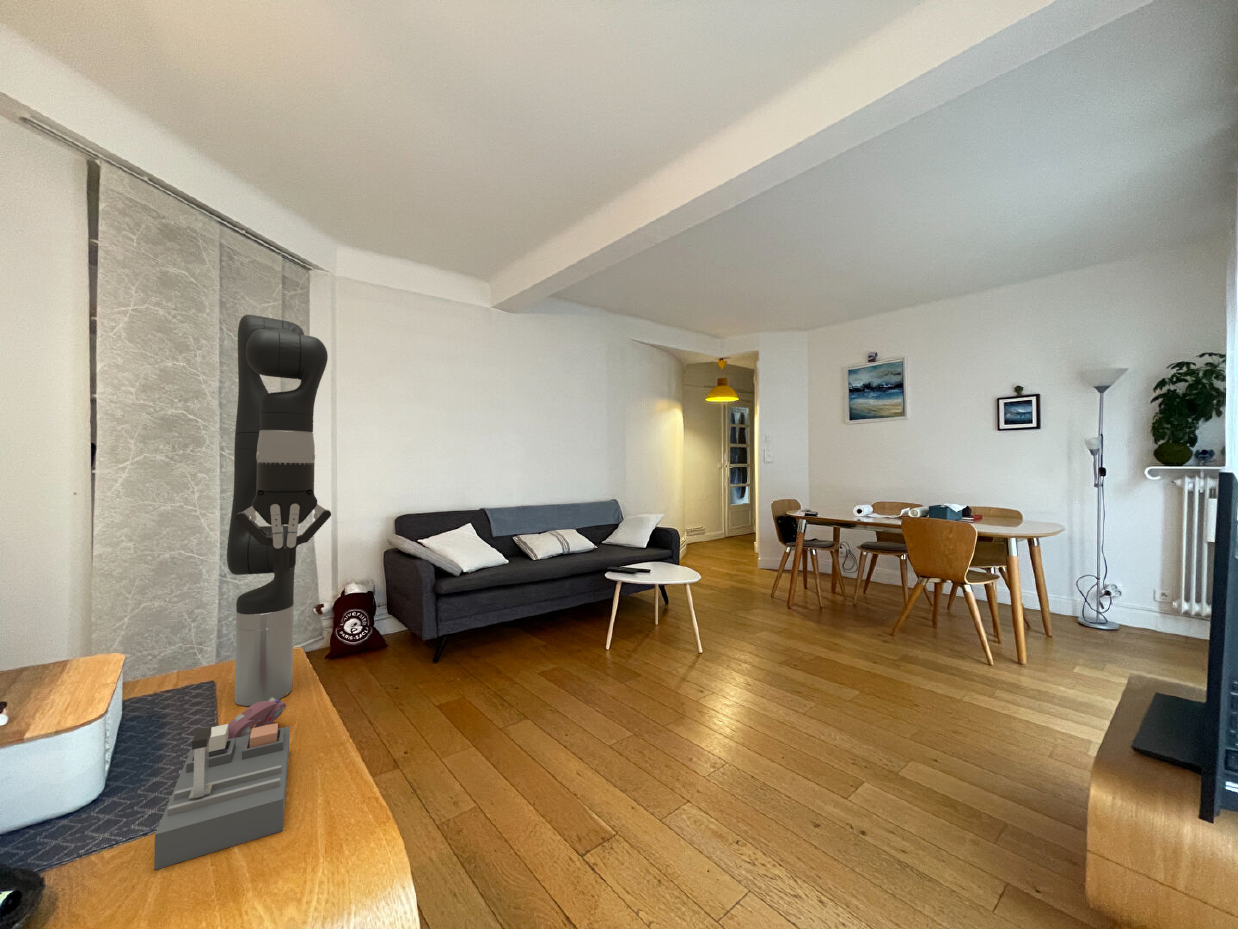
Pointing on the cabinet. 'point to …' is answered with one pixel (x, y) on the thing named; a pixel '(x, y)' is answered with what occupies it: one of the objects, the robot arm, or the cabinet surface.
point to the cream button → (218, 737)
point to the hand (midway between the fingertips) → (284, 571)
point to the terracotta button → (264, 735)
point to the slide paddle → (201, 764)
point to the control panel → (226, 801)
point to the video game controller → (255, 717)
